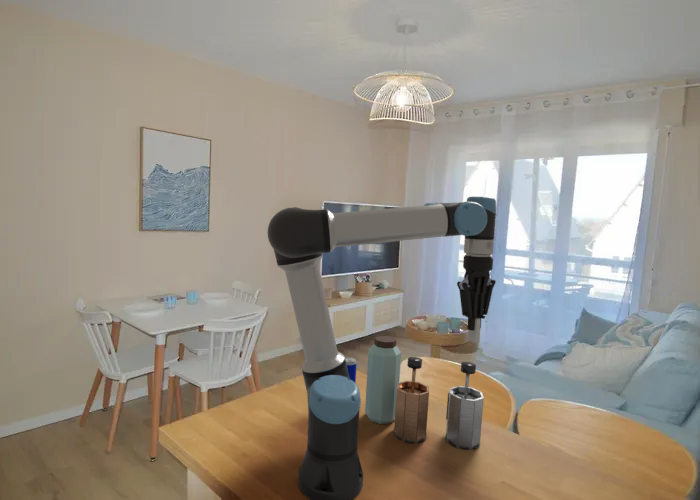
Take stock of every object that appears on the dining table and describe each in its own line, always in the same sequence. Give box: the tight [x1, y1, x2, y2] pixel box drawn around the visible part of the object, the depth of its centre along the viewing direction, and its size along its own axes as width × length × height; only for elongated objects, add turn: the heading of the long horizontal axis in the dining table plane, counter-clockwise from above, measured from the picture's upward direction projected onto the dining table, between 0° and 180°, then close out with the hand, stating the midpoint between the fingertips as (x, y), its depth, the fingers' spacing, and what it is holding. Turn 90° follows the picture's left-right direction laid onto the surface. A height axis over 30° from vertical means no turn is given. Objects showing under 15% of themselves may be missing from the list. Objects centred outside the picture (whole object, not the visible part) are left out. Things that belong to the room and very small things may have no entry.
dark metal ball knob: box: [456, 361, 477, 400], centre depth 116 cm, size 7×7×11 cm
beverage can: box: [345, 356, 358, 384], centre depth 136 cm, size 5×5×15 cm
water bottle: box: [364, 335, 402, 425], centre depth 127 cm, size 10×10×25 cm
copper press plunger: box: [403, 356, 423, 394], centre depth 118 cm, size 7×7×11 cm
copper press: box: [393, 380, 430, 444], centre depth 119 cm, size 9×10×14 cm
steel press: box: [445, 385, 485, 451], centre depth 117 cm, size 9×10×14 cm
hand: (473, 341), depth 112 cm, fingers closed
